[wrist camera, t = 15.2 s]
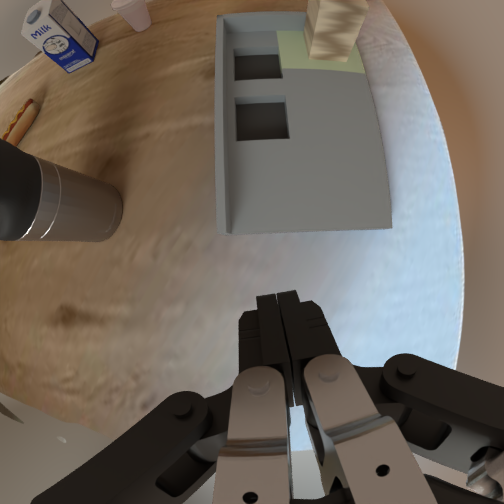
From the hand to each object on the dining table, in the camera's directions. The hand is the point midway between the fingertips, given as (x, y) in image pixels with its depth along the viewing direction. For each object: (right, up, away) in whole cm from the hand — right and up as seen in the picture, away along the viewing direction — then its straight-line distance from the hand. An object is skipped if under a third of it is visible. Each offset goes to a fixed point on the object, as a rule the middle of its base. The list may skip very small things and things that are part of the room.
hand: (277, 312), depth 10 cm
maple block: (+10, +34, +22) cm, 42 cm away
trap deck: (+6, +22, +25) cm, 34 cm away
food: (-51, +29, +28) cm, 65 cm away
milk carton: (-37, +44, +27) cm, 63 cm away
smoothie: (-23, +48, +26) cm, 59 cm away
